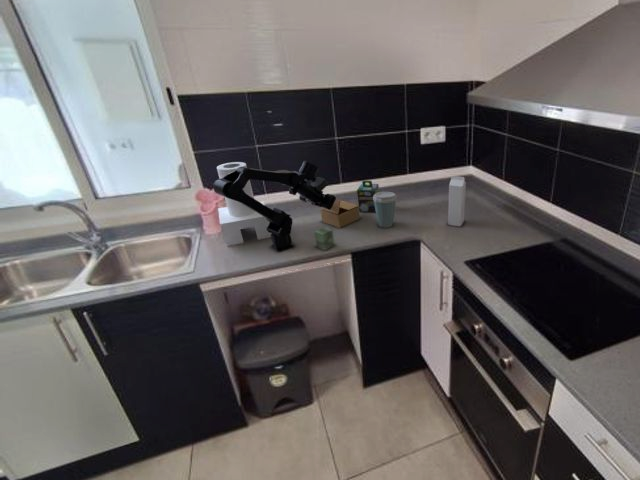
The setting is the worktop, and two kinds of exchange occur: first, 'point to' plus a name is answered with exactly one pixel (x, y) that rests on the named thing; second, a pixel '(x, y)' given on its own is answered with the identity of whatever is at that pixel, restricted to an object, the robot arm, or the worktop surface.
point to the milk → (456, 201)
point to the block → (324, 238)
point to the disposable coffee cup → (385, 208)
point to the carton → (341, 215)
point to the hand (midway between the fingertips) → (329, 206)
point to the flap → (334, 207)
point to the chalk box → (367, 196)
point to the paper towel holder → (239, 212)
